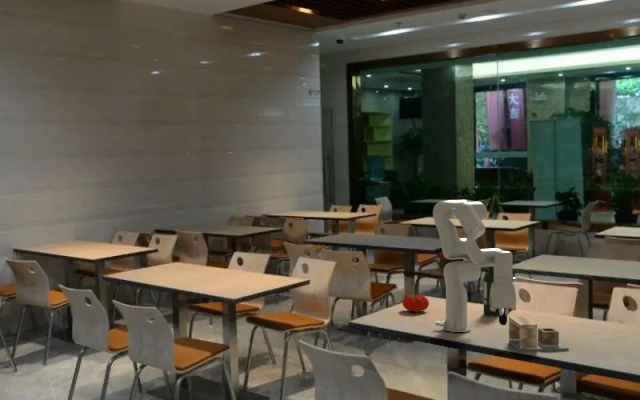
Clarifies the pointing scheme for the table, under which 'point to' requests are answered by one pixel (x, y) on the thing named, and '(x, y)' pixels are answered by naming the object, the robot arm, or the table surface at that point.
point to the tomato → (415, 302)
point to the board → (539, 347)
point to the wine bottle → (488, 292)
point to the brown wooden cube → (548, 336)
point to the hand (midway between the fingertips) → (502, 324)
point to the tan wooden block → (523, 331)
